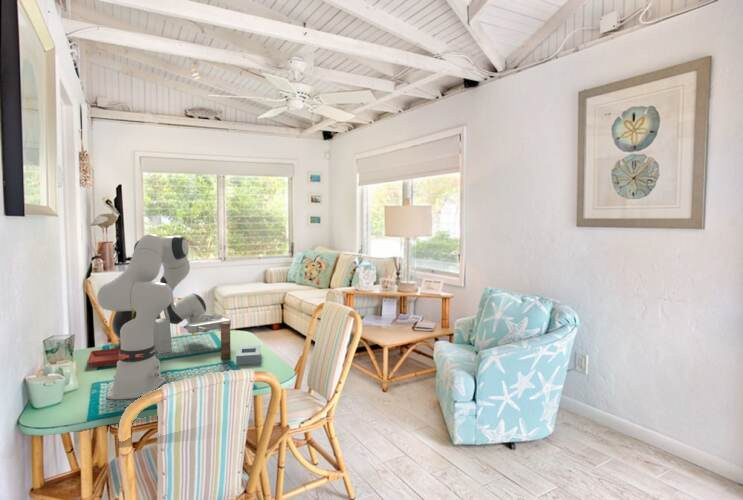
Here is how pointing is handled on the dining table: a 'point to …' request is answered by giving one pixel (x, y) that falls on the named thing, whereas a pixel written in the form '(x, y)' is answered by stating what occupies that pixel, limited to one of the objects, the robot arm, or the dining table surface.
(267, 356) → the dining table surface
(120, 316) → the amphora vase
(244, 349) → the socket block
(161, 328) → the skincare box
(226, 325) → the walnut dowel
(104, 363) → the plant saucer
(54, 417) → the dining table surface
